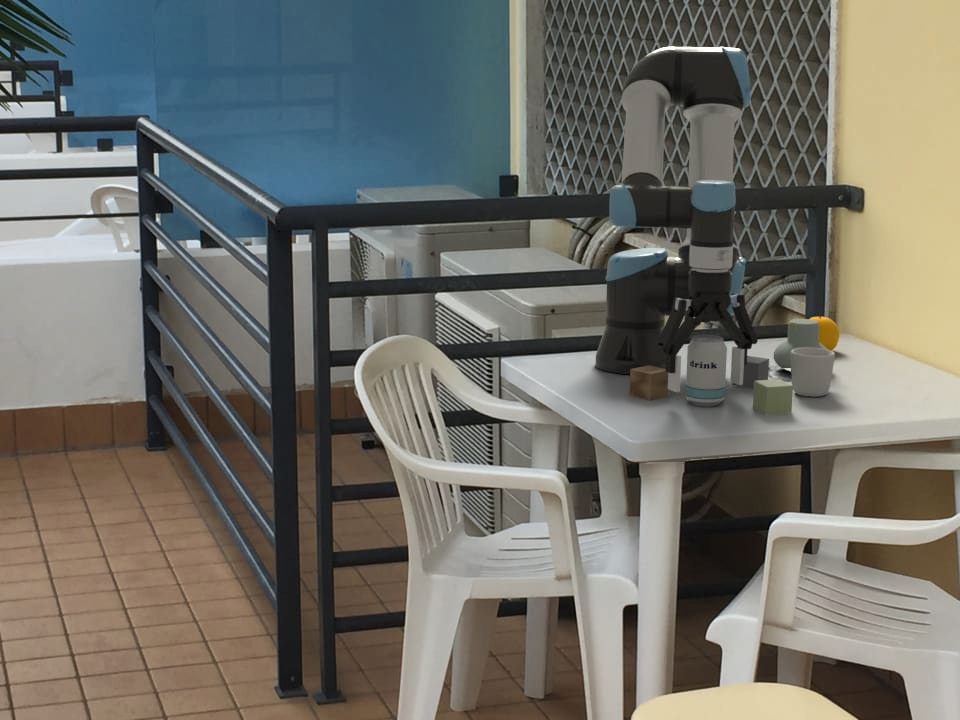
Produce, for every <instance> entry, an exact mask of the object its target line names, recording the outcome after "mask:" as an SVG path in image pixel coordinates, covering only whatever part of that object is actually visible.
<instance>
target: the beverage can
mask: <svg viewBox="0 0 960 720" xmlns="http://www.w3.org/2000/svg"><path fill="white" fill-rule="evenodd" d="M727 352H728V348H727V345H726V344H725V341H724V337H723V336H720V335H714V334H697V335H693V336H691V340H690V342H689V344H688V345H687V354H686V375H685V376H686V378H685V385H686V386H685V398H686V400H688V402H690V403H691V404H692V405H694V406H696V407H697V406H698V407H706V408H709V407H715V406H718V405H719V404H720V403H721V402H723V401H724V400H725V397H726V377H727V376H726V374H727V373H726V372H727V355H728V354H727Z"/></svg>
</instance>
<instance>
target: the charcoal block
mask: <svg viewBox="0 0 960 720" xmlns="http://www.w3.org/2000/svg"><path fill="white" fill-rule="evenodd" d="M769 368H770V358H766V357H759V356H758V357H757V356H752V355H747V363H746V365H744V372H743V385H738V384H735V383H732V386H733V387H739V388H740V387H741V388H746V389H751V390H754V381H757V380H769V372H770V371H769V370H770V369H769Z"/></svg>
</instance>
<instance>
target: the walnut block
mask: <svg viewBox="0 0 960 720" xmlns="http://www.w3.org/2000/svg"><path fill="white" fill-rule="evenodd" d="M629 375H630V377H629V378H630V379H629V396H631V397H635V398H638V399H643V400H646V401H654V400H657V399H663V398H667V397H669V392H670V390H669V389H668V372H666V370H665V369H663V368H659V367H655V366H650V365H648V366H643V367H638V368H634V369H630V374H629Z"/></svg>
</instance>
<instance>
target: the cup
mask: <svg viewBox="0 0 960 720" xmlns="http://www.w3.org/2000/svg"><path fill="white" fill-rule="evenodd" d="M835 358H836V352H834V351H833V350H827V349H822V348H812V347H804V348H796V349H793V350H791V372H790V373H791V385H793V393H794V394H796V395H799V396H802V395H803V397H808V396H809V397H810V398H811V397H812V398H817V397H822V396H826V395H827V394H828V393H829V392H830V388H831V381H832V375H833V370H834V365H835Z"/></svg>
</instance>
